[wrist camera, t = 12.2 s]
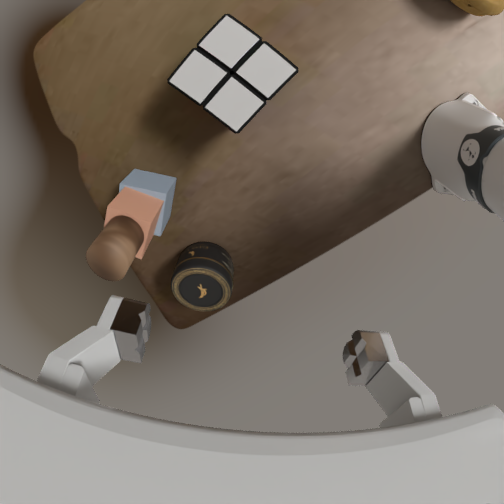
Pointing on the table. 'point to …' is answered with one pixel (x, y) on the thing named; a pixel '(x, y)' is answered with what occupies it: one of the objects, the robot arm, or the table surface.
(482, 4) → the pot
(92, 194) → the table surface
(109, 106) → the table surface
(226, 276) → the jar
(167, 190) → the base block
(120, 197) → the top block
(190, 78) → the puzzle cube
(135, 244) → the walnut cylinder
